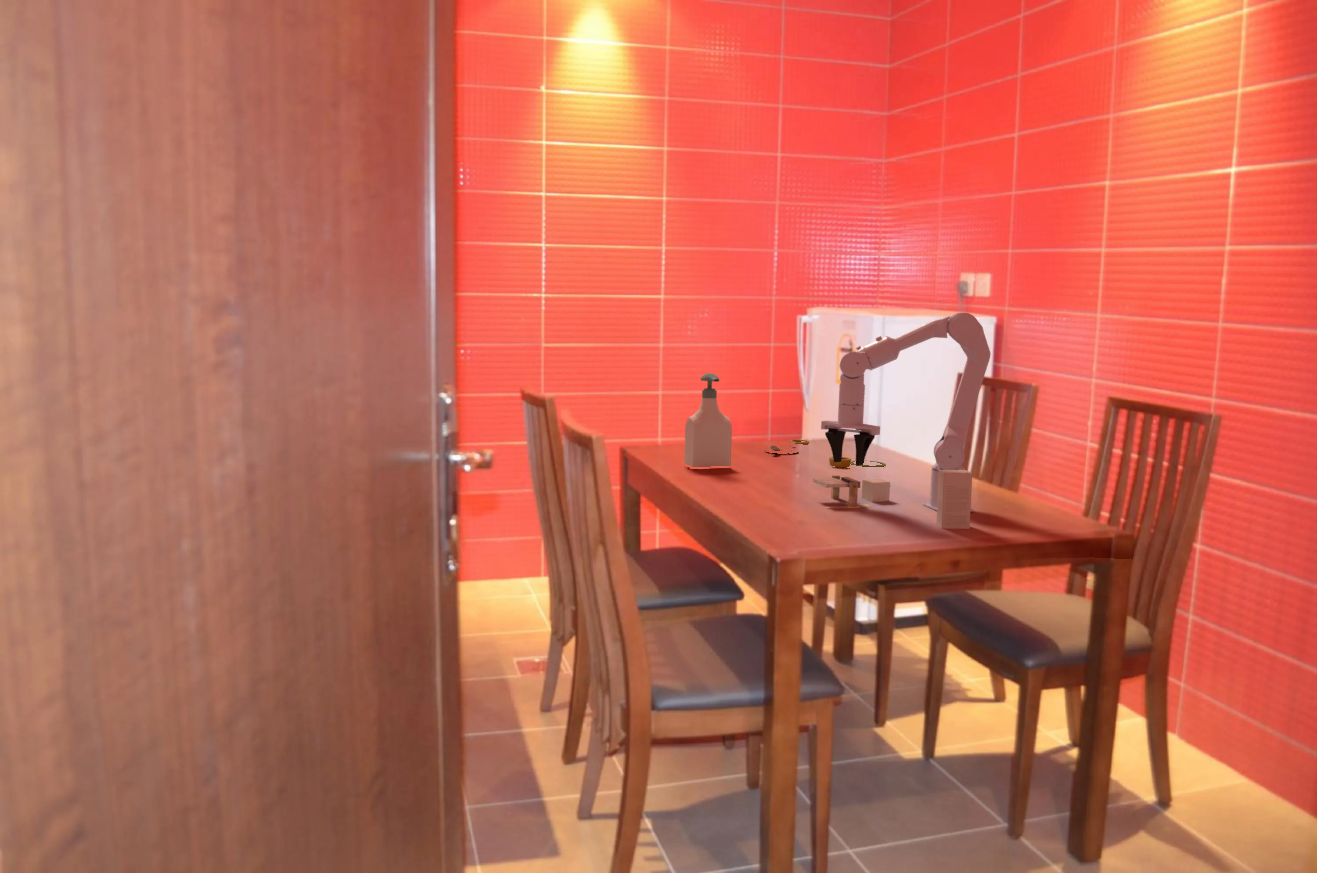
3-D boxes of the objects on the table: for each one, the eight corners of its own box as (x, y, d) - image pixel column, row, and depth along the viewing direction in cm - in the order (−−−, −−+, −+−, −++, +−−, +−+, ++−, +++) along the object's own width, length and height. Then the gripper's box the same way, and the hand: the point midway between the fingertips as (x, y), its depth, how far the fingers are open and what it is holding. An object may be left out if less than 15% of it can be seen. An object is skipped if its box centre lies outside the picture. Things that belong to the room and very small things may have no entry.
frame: (851, 501, 249) (852, 474, 248) (872, 510, 238) (873, 482, 238) (807, 502, 246) (808, 475, 246) (826, 511, 236) (828, 483, 235)
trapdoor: (846, 482, 246) (846, 476, 246) (861, 488, 239) (861, 482, 239) (812, 483, 244) (813, 477, 244) (826, 489, 237) (826, 482, 236)
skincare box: (963, 525, 223) (966, 469, 222) (970, 529, 219) (973, 472, 217) (934, 525, 223) (937, 469, 221) (940, 529, 218) (944, 472, 217)
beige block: (889, 505, 245) (890, 482, 245) (871, 506, 244) (872, 482, 243) (878, 501, 250) (879, 478, 249) (861, 502, 248) (862, 479, 247)
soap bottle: (695, 478, 279) (697, 374, 275) (684, 473, 286) (686, 372, 283) (733, 476, 282) (736, 374, 279) (721, 472, 290) (724, 372, 287)
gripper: (888, 406, 239) (885, 465, 241) (834, 401, 249) (831, 458, 250) (871, 407, 234) (868, 468, 235) (817, 402, 243) (814, 460, 245)
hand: (848, 463), depth 243 cm, fingers open, 5 cm apart
